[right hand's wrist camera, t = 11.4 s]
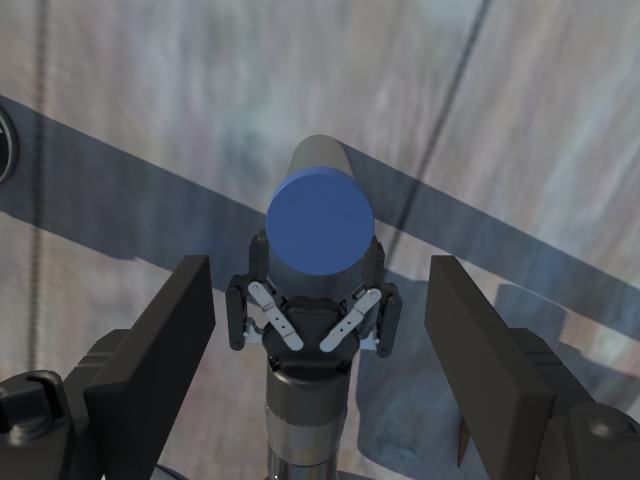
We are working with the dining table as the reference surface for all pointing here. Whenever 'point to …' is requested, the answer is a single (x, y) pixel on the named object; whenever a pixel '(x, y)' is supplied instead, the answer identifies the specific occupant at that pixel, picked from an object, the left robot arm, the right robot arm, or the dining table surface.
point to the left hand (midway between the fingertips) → (318, 235)
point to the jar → (319, 155)
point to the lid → (320, 221)
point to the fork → (463, 441)
